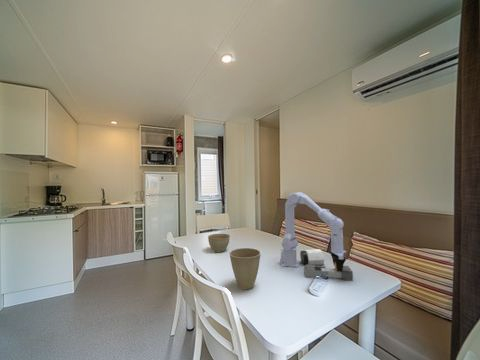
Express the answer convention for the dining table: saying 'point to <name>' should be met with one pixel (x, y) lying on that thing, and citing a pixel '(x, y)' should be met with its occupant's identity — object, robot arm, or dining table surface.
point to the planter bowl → (218, 242)
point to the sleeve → (313, 271)
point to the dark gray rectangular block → (347, 273)
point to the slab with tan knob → (333, 272)
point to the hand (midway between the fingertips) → (337, 268)
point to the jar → (312, 257)
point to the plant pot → (245, 266)
